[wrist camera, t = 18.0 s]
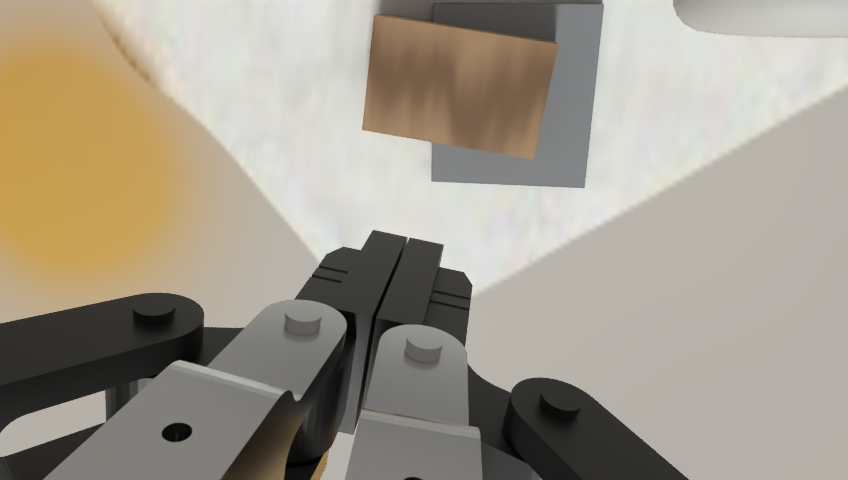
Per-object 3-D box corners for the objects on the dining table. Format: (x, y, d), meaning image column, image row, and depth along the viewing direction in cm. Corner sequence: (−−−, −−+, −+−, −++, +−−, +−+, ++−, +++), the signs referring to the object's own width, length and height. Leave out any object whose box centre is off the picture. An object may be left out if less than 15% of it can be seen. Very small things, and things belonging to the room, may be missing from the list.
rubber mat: (432, 178, 37) (431, 181, 36) (434, 3, 33) (433, 3, 33) (583, 185, 36) (584, 187, 35) (602, 4, 32) (603, 4, 32)
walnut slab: (533, 159, 33) (362, 129, 33) (532, 149, 35) (372, 121, 36) (558, 44, 30) (374, 15, 31) (555, 41, 33) (383, 14, 33)
